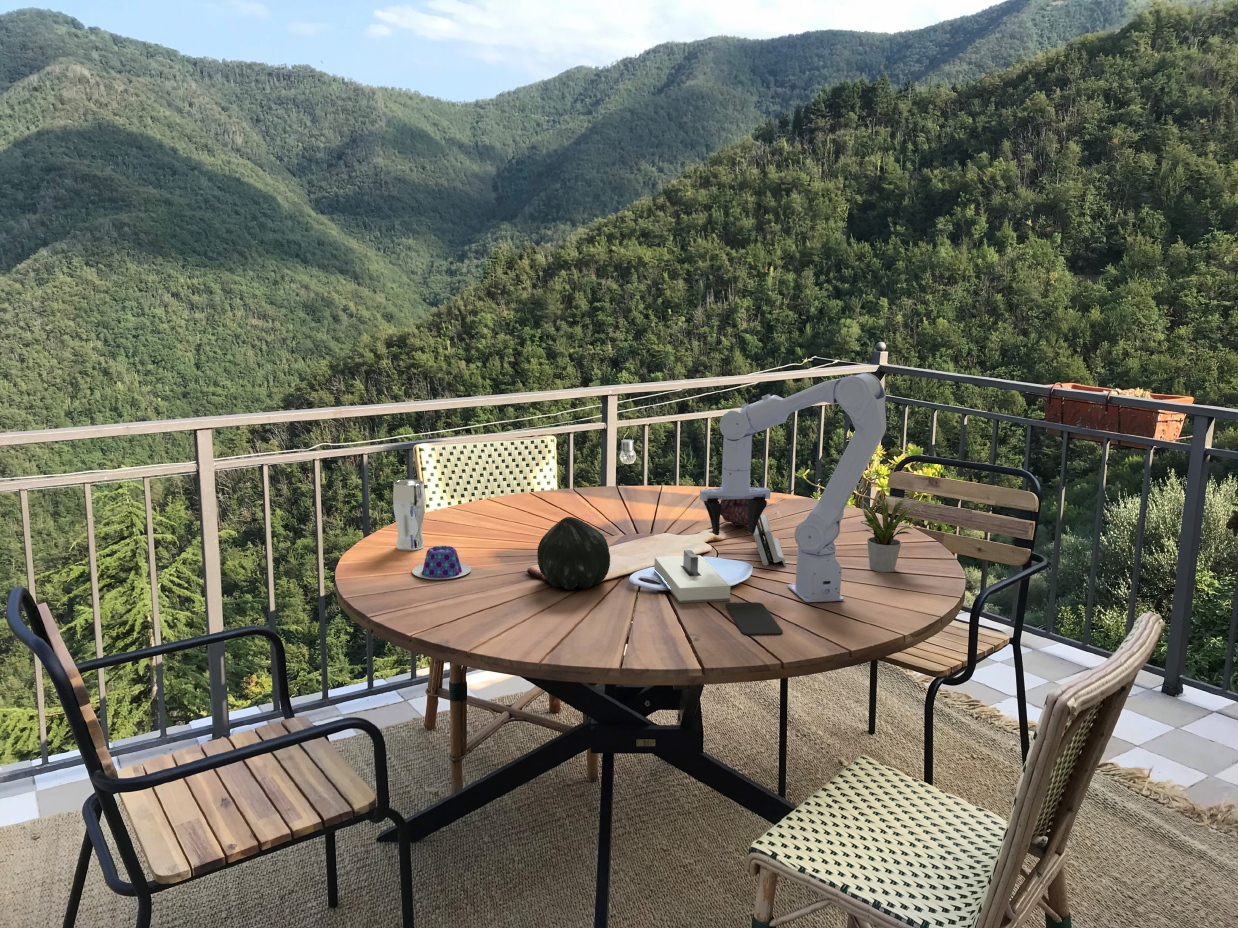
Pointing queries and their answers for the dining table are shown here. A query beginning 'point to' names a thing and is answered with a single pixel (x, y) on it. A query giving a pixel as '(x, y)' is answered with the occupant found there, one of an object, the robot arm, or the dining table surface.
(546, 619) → the dining table surface
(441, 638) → the dining table surface
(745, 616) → the phone
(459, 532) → the dining table surface
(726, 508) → the pine cone
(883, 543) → the house plant
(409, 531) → the beer glass
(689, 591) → the post foot
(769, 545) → the grey and black device
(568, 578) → the squash
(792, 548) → the dining table surface
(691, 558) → the metal block
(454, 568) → the pudding
